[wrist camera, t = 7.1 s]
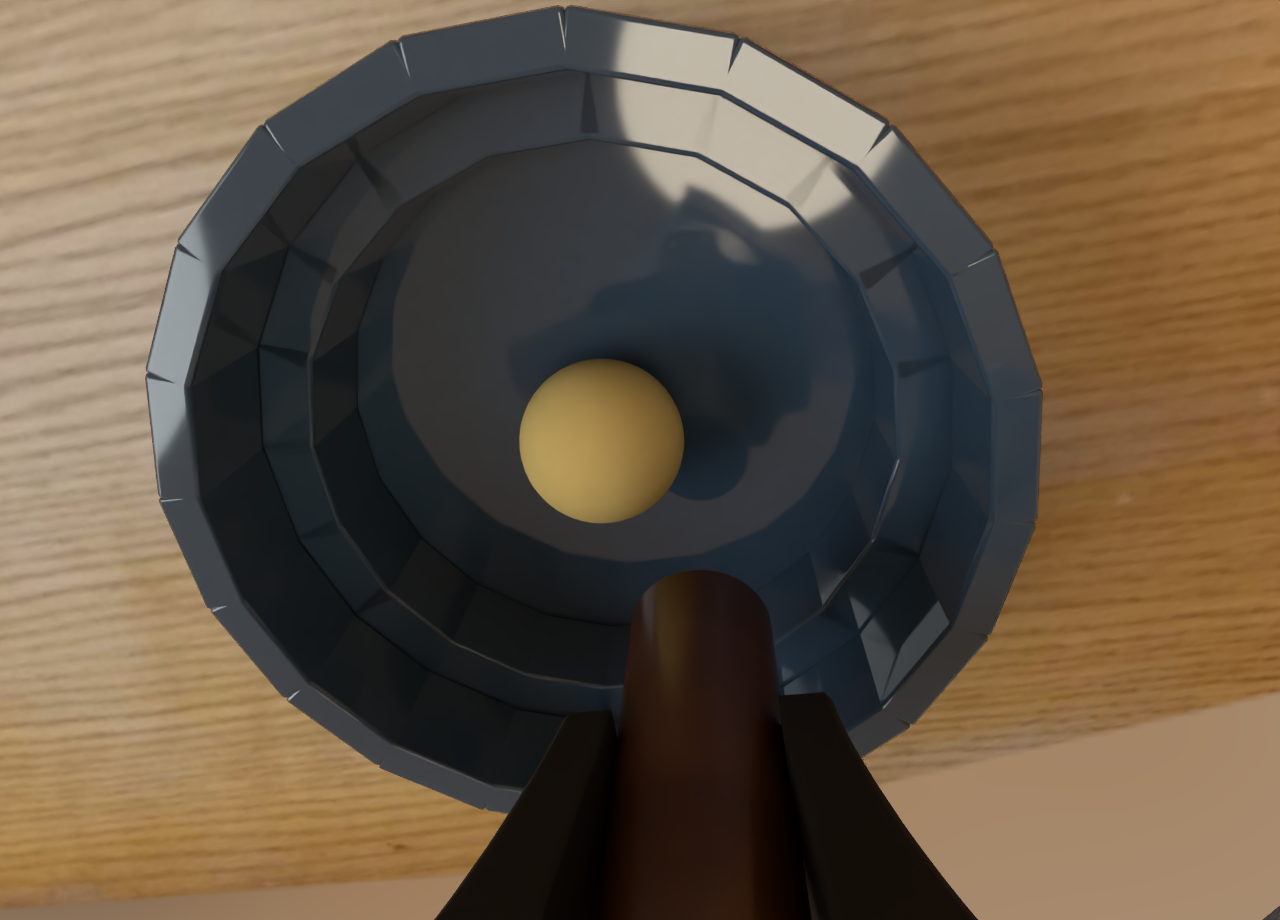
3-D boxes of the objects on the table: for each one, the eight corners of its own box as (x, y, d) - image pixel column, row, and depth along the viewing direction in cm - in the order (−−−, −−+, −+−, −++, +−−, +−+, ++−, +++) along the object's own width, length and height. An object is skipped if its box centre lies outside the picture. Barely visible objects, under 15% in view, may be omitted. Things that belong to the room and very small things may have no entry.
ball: (694, 470, 17) (693, 544, 14) (552, 487, 17) (524, 562, 14) (673, 328, 15) (668, 379, 13) (521, 349, 16) (484, 404, 13)
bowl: (948, 630, 19) (1027, 803, 14) (399, 679, 20) (313, 848, 16) (942, -34, 13) (1066, -96, 9) (198, 107, 15) (-18, 116, 11)
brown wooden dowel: (777, 675, 14) (882, 1450, 6) (643, 687, 15) (574, 1442, 6) (763, 560, 13) (867, 1299, 5) (620, 575, 14) (507, 1294, 6)
